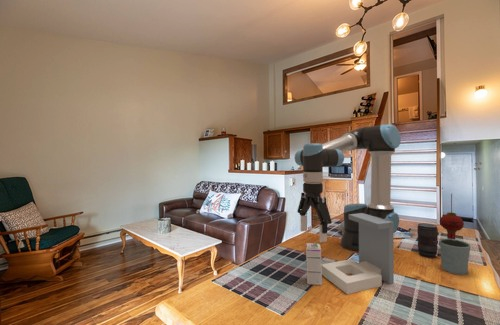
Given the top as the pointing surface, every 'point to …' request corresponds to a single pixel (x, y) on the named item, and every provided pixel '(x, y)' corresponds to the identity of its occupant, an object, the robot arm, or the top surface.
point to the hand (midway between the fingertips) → (312, 235)
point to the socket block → (366, 257)
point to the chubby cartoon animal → (341, 227)
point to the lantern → (451, 223)
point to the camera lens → (427, 240)
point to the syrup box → (313, 264)
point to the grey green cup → (454, 256)
